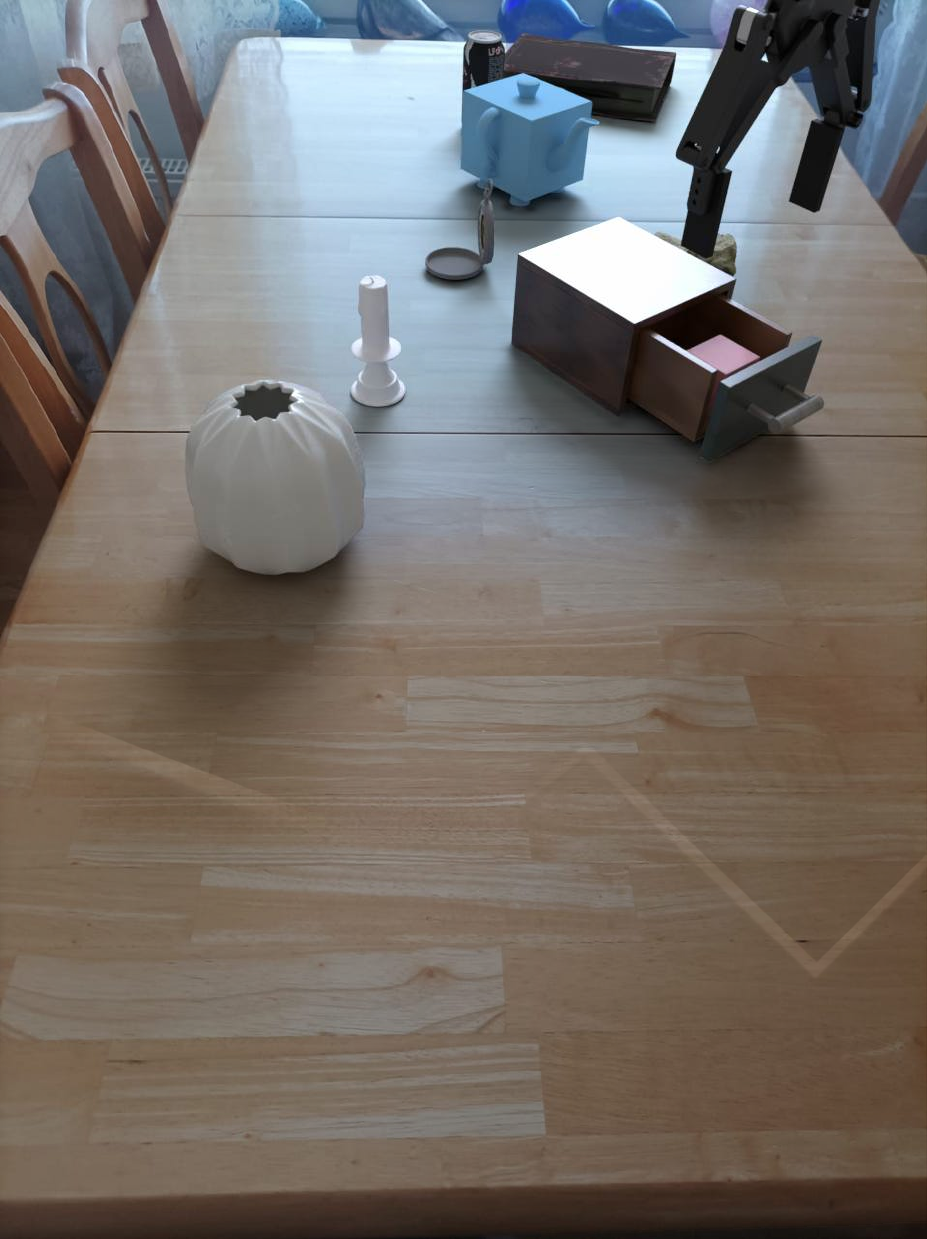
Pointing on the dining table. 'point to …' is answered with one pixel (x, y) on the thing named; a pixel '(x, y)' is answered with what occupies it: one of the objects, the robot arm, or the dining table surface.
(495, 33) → the beverage can
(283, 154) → the dining table surface
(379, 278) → the candle
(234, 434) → the vase
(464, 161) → the teapot
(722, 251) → the rock
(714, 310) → the drawer
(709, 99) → the robot arm
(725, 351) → the block
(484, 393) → the dining table surface
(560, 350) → the cabinet
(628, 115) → the diary
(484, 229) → the pocket watch
